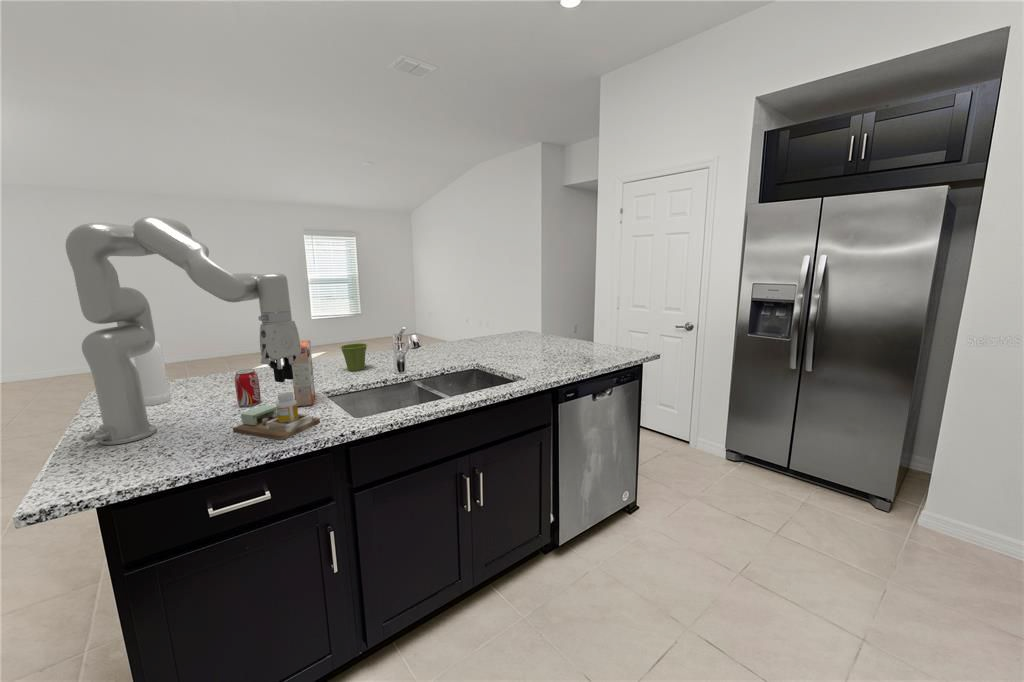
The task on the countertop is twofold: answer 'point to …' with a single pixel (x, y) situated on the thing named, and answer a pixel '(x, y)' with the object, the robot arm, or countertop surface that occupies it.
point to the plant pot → (354, 356)
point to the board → (276, 427)
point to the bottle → (153, 376)
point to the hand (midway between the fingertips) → (284, 379)
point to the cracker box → (303, 376)
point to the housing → (257, 414)
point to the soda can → (247, 387)
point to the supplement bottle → (286, 408)
